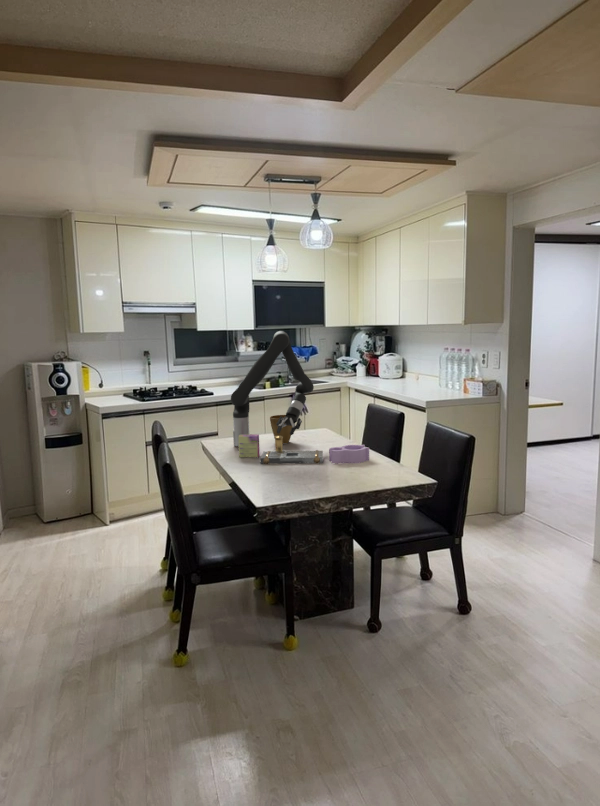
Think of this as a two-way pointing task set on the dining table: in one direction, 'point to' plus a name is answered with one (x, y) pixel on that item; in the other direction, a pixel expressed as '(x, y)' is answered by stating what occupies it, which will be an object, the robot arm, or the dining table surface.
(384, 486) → the dining table surface
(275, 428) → the plant pot
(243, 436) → the box
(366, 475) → the dining table surface
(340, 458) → the purple cup holder
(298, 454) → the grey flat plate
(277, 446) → the master link pin
